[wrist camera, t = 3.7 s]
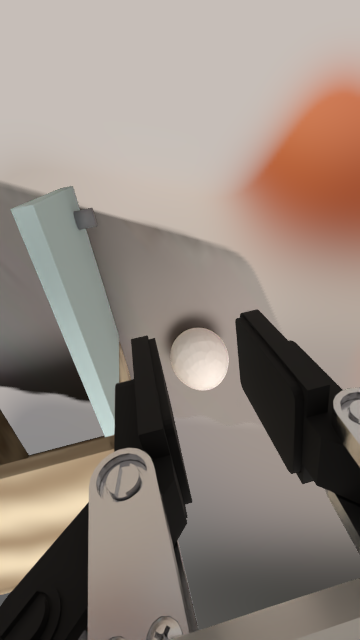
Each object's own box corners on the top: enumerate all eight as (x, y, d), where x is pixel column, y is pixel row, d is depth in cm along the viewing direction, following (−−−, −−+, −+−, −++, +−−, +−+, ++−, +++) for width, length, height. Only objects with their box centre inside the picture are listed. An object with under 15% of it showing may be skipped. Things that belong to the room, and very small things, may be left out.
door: (89, 182, 25) (64, 198, 14) (131, 332, 33) (139, 428, 21) (60, 188, 25) (10, 208, 13) (109, 337, 32) (105, 437, 21)
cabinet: (-29, 377, 32) (-121, 511, 20) (119, 342, 33) (120, 447, 21) (25, 461, 39) (-19, 600, 26) (146, 429, 40) (159, 547, 28)
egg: (215, 312, 34) (239, 348, 27) (218, 356, 37) (240, 398, 30) (162, 322, 33) (173, 361, 27) (169, 366, 36) (181, 411, 30)
